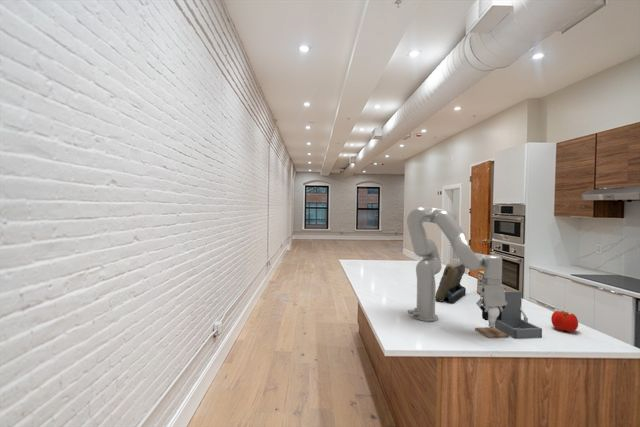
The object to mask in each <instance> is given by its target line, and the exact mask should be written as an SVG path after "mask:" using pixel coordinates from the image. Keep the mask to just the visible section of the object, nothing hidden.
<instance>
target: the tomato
mask: <svg viewBox="0 0 640 427" xmlns="http://www.w3.org/2000/svg"><path fill="white" fill-rule="evenodd" d="M550 319H551V324H552V326H553V327H554V328H555V329H556V330H558V331H562V332H563V331H565V332H567V333H569V332H570V333H571V332H574V331H577V329H578V328H579V320H578V317H577V316H576V314H574V313H569V312H568V311H564V310H561V311H559V310H555V311H554V312H553V313H552V315H551V317H550Z"/></svg>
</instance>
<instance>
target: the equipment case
mask: <svg viewBox="0 0 640 427" xmlns="http://www.w3.org/2000/svg"><path fill="white" fill-rule="evenodd" d="M504 291H505V290H504ZM522 294H523V292H522V291H521V290H506V291H505V300H506V301H507V302H508V304H507V305H506V306H505V308H504V309H503V311H502V317H501V320H499V319H497V318H496V321H495V327H494V328H496V329H498V330H500V331H502V332H504V333H505V334H507V335H509V336H510V338H514V339H533V338H542V337H543V328H542V327H540V326H537V325H535V324H532V323H530V322H529V318H528V317H527V315H526V314H525V312H524V310H523V309H522V308H523V307H522V304H523V303H522V302H523V301H522V298H523V296H522ZM522 315H523V319H522Z"/></svg>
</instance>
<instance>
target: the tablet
mask: <svg viewBox="0 0 640 427" xmlns="http://www.w3.org/2000/svg"><path fill="white" fill-rule="evenodd" d="M466 269H467V268H466V267H465V266H464V265H463V264H462V262H461V261H460V260H459V259H458V260H456V261H454V262H451V263H447V264H446V266H445V268H444V270H443V273H442V276H441V277H440V281H439V282H438V283H439V284H438V287H437V289H436V290H437V291H435V301H437V302H438V303H440V302H443V301H444V300H445V298H447V300H448V303H449V304H455V303H457V302H458V301H460V300H461V299H462V298H463V297H465V296H467V295H466V291H467V290H466V287H465V286H463V285H461V282H462V279H463V276H464V275H465V271H466Z"/></svg>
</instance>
